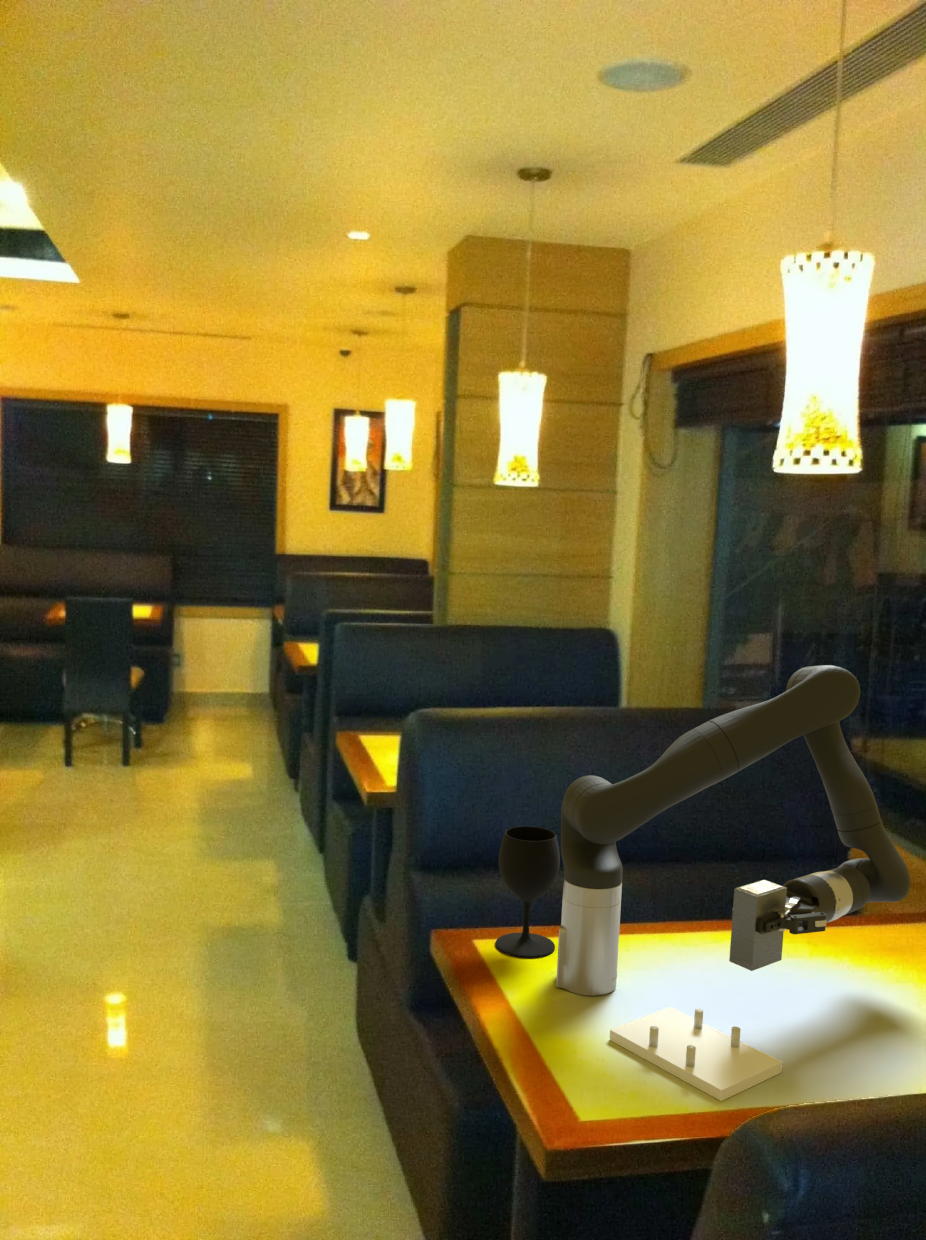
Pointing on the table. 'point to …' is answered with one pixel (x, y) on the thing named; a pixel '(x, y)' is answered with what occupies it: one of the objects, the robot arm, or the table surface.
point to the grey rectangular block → (756, 925)
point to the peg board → (697, 1052)
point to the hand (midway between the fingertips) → (747, 921)
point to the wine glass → (528, 883)
